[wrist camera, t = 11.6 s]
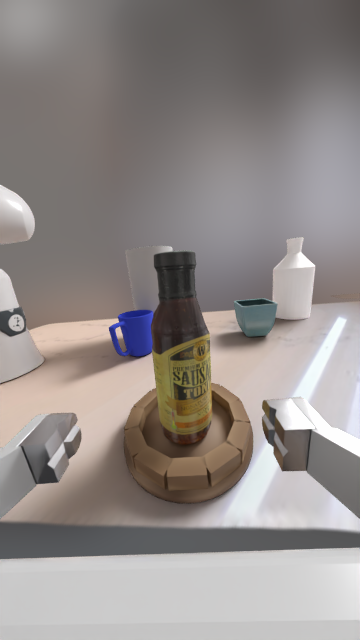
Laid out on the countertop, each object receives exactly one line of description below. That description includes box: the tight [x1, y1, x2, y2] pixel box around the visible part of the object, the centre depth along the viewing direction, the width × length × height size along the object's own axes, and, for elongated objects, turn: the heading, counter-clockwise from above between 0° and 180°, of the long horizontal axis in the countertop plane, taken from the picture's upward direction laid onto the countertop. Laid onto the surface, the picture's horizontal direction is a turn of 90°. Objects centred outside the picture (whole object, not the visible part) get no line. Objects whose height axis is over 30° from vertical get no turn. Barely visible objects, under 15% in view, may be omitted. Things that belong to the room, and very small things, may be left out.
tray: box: [124, 383, 253, 503], centre depth 23 cm, size 15×15×2 cm
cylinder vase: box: [125, 246, 172, 314], centre depth 54 cm, size 12×12×25 cm
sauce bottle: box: [151, 251, 212, 445], centre depth 20 cm, size 7×6×20 cm
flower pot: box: [234, 299, 278, 337], centre depth 51 cm, size 9×9×9 cm
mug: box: [109, 310, 153, 356], centre depth 44 cm, size 8×12×10 cm
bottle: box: [273, 237, 315, 320], centre depth 63 cm, size 12×12×25 cm
